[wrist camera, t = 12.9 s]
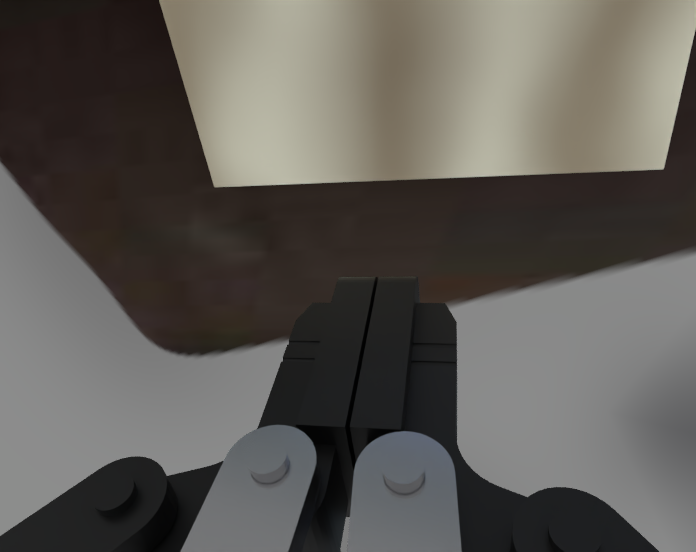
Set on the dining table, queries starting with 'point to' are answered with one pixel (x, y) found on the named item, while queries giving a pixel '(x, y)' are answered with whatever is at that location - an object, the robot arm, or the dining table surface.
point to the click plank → (429, 86)
